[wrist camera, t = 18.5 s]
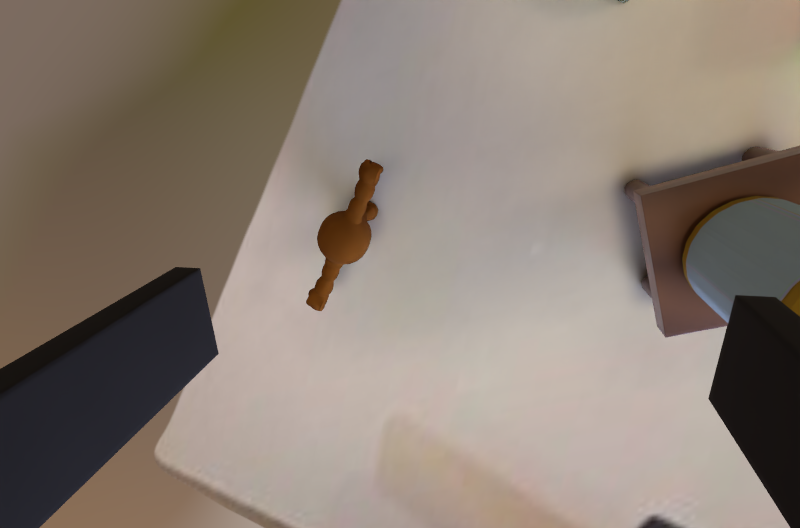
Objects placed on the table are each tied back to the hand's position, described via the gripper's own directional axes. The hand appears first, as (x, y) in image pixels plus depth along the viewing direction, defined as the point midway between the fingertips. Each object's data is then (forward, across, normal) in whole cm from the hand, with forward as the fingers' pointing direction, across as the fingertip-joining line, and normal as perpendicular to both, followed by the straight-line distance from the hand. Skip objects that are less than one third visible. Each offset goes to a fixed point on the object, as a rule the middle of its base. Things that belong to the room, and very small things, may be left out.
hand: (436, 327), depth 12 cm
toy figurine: (+25, -10, -5) cm, 27 cm away
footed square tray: (+26, +16, -5) cm, 30 cm away
